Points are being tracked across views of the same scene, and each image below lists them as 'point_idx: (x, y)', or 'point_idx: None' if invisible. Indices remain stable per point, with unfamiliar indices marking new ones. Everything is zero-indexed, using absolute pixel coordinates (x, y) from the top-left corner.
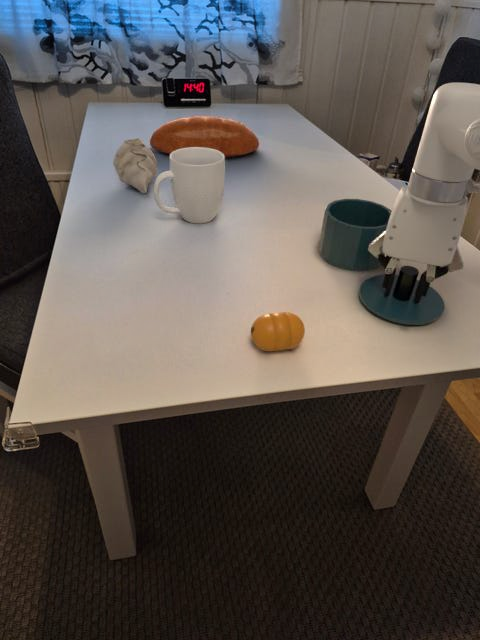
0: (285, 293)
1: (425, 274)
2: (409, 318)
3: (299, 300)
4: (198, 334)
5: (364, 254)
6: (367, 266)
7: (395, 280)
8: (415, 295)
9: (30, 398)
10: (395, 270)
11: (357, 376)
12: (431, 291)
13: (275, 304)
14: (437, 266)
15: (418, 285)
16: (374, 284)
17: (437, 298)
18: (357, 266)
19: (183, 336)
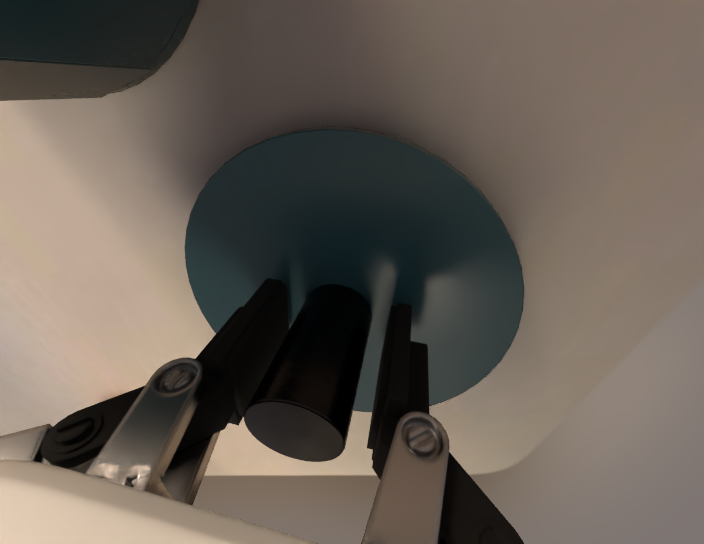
0: (50, 301)
1: (378, 467)
2: (362, 403)
3: (95, 322)
4: (49, 408)
5: (25, 78)
6: (141, 66)
7: (307, 197)
8: (384, 340)
9: None
10: (235, 383)
11: (282, 472)
12: (485, 257)
13: (68, 341)
14: (444, 536)
15: (381, 364)
16: (227, 254)
17: (496, 307)
18: (101, 92)
19: (39, 411)
